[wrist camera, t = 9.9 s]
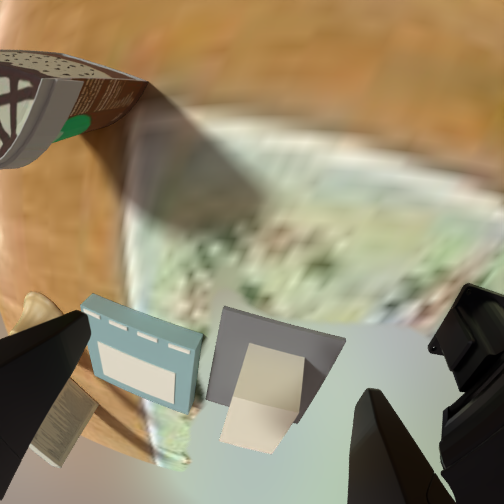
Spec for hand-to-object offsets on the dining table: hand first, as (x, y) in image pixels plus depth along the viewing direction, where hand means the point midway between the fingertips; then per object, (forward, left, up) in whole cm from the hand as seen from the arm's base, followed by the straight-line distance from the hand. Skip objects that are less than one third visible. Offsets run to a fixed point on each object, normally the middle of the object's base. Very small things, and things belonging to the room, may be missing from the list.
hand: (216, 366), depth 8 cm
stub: (-3, +13, -12) cm, 18 cm away
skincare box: (+20, +31, -12) cm, 39 cm away
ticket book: (+9, +16, -12) cm, 22 cm away
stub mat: (-3, +13, -12) cm, 18 cm away
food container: (+15, -6, -12) cm, 20 cm away
